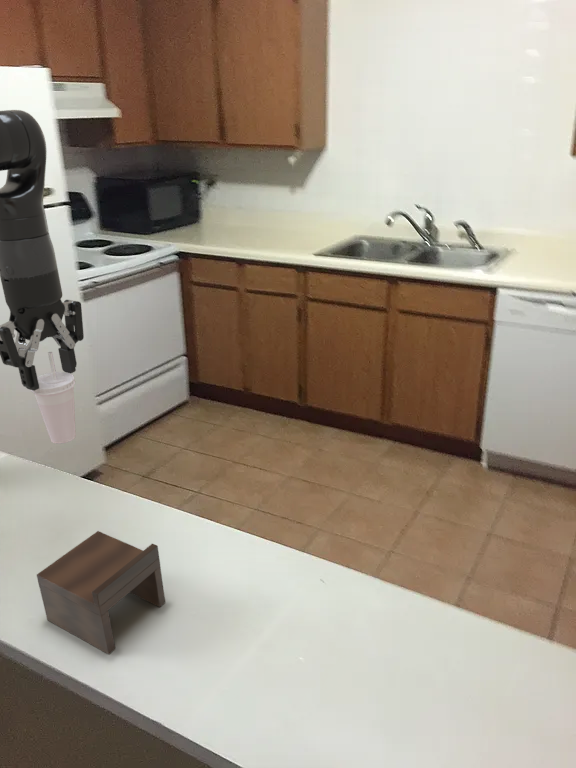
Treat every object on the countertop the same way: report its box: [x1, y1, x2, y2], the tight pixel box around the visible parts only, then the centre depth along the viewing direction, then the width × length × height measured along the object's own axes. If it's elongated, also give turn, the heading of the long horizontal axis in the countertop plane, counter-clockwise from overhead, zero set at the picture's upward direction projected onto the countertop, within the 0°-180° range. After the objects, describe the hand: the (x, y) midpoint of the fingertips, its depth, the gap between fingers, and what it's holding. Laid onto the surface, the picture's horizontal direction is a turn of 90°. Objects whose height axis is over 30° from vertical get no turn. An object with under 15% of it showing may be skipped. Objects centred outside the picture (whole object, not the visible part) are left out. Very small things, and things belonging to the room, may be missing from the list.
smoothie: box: [30, 351, 77, 445], centre depth 99 cm, size 6×6×14 cm
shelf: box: [36, 530, 166, 655], centre depth 92 cm, size 12×11×10 cm
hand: (51, 379), depth 98 cm, fingers closed on smoothie, 6 cm apart
